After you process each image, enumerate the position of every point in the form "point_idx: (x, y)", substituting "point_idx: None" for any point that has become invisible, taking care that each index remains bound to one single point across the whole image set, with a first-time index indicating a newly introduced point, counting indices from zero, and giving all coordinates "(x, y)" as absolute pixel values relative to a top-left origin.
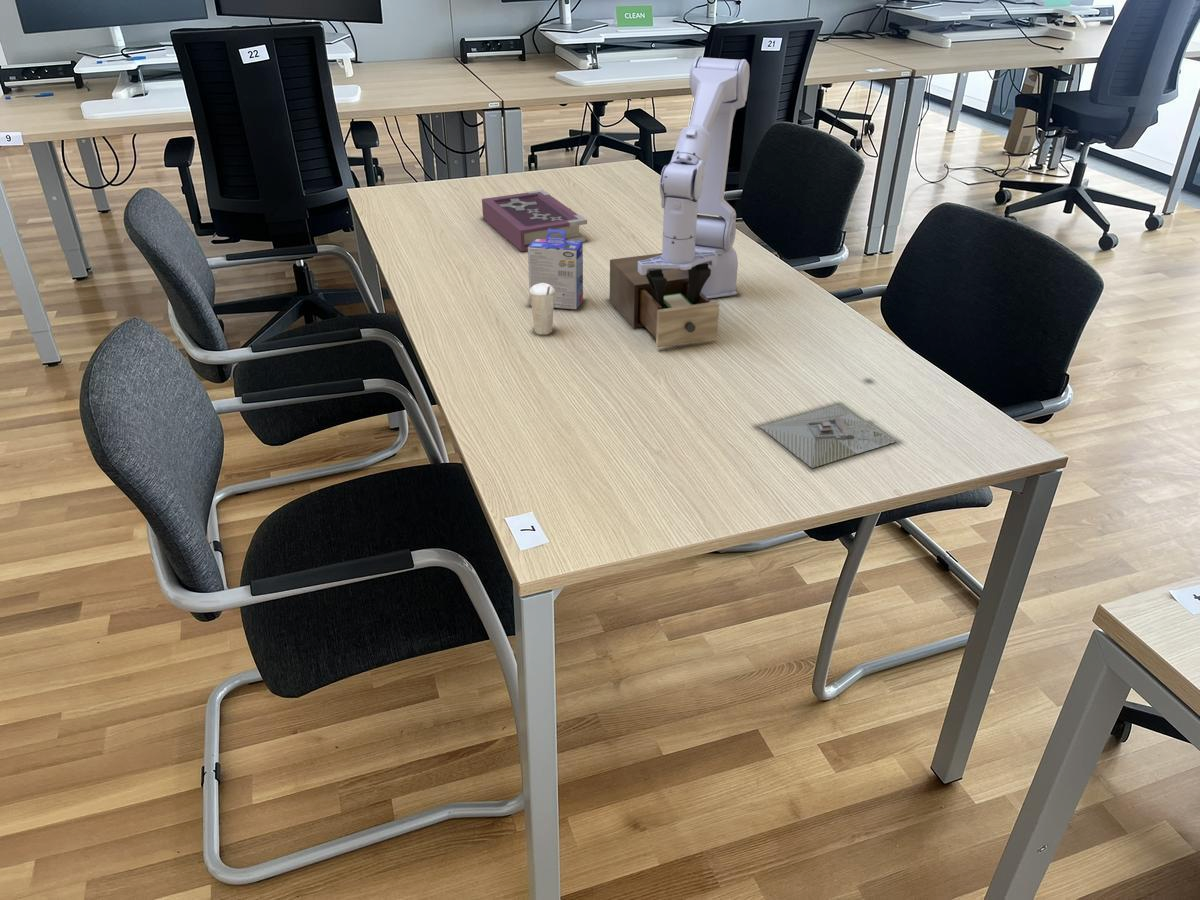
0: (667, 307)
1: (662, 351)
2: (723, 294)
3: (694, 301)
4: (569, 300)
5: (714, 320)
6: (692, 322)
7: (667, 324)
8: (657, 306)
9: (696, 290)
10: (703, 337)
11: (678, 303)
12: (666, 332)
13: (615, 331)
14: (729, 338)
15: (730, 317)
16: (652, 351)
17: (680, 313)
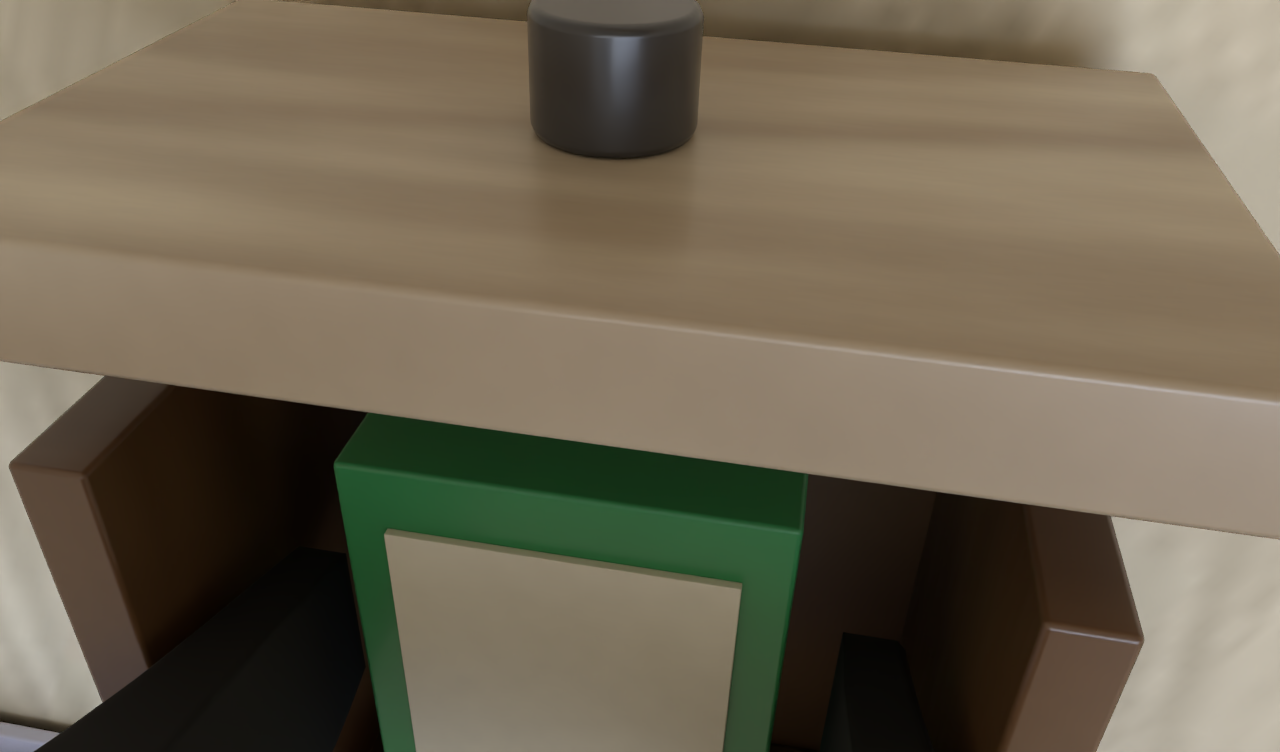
0: (786, 639)
1: (1058, 53)
2: (3, 739)
3: (288, 597)
4: None
5: (125, 95)
6: (529, 145)
7: (1067, 213)
8: (1124, 670)
9: (157, 750)
10: (416, 27)
11: (568, 647)
12: (1055, 149)
13: (1212, 678)
14: (88, 41)
15: (8, 444)
16: (1186, 110)
17: (768, 278)
